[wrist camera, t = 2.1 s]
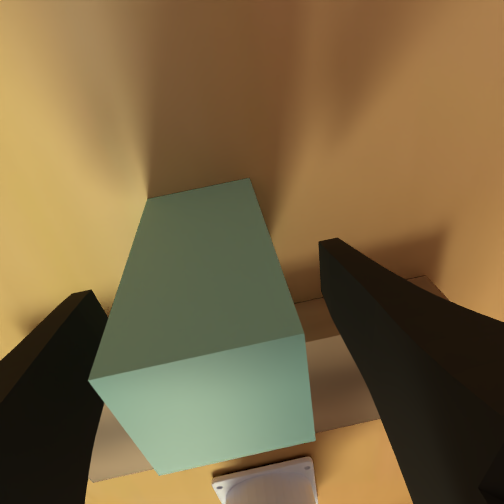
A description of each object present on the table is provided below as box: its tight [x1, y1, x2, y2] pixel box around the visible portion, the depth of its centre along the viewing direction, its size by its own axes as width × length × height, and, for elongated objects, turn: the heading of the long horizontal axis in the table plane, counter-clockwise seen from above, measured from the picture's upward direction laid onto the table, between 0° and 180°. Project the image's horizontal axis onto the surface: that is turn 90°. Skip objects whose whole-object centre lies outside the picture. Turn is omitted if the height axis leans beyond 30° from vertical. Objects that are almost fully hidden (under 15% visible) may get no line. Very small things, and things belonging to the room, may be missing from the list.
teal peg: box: [88, 178, 316, 476], centre depth 10 cm, size 4×4×8 cm
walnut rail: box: [88, 276, 449, 483], centre depth 18 cm, size 8×20×2 cm, turn 99°
